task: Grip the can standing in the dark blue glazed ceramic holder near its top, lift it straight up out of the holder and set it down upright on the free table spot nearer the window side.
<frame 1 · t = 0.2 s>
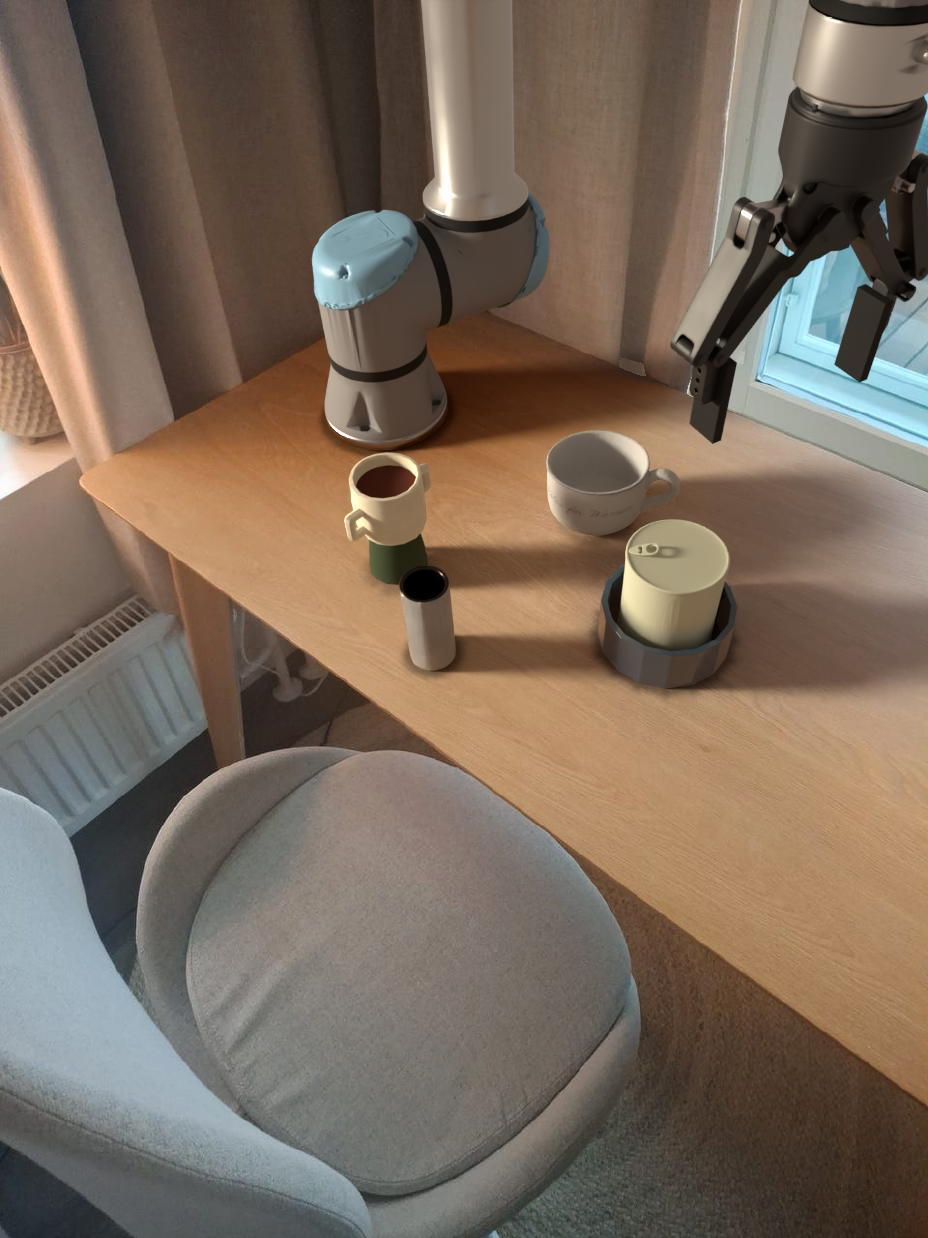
hand: (779, 401, 67), 28 cm above the table, tool pointing down, fingers open, 13 cm apart
can: (662, 637, 89), resting in holder
character mug: (399, 569, 97), on the table
teacup: (607, 519, 100), on the table
planter: (433, 654, 89), on the table
holder: (662, 636, 89), on the table
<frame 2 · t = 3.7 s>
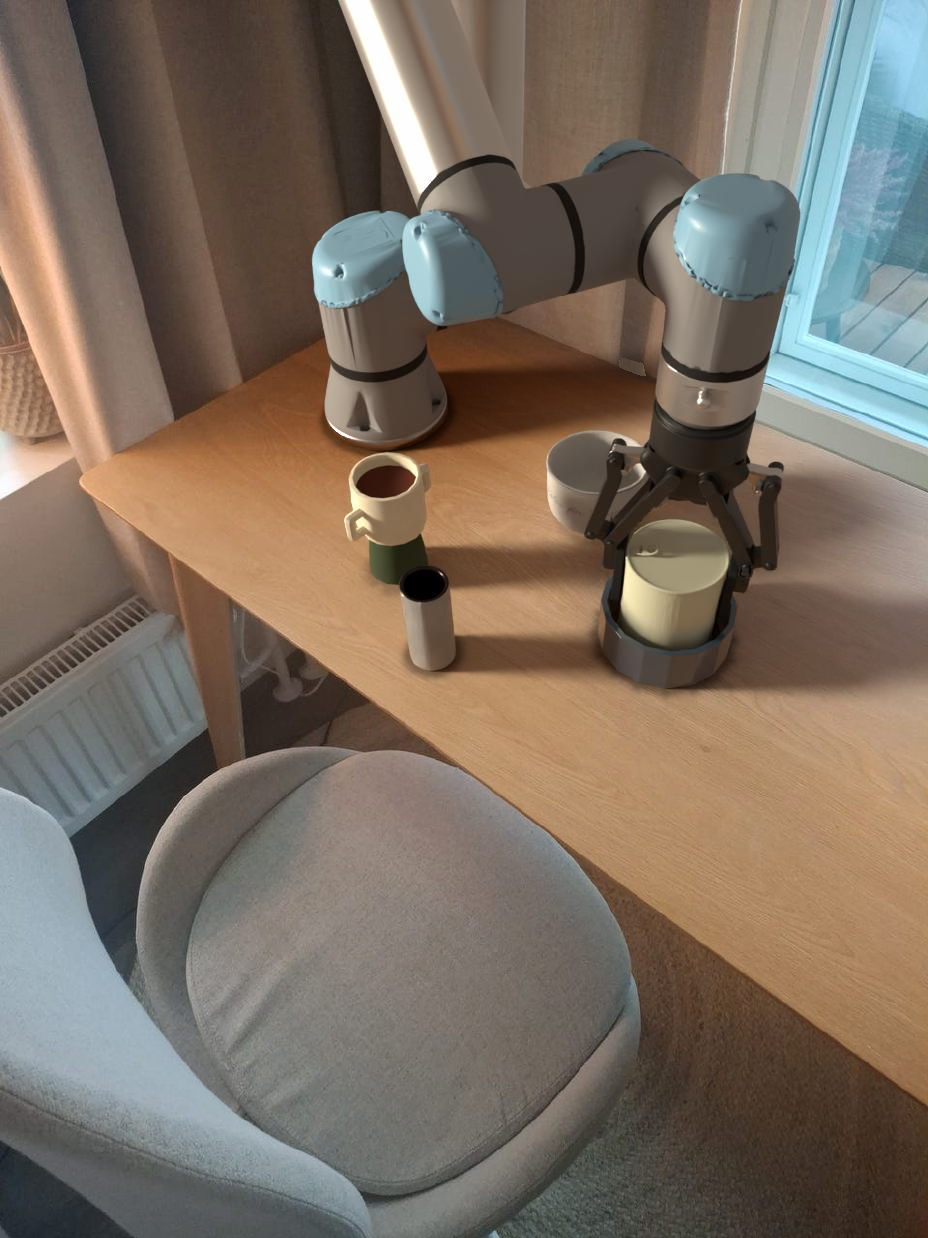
hand: (669, 599, 85), 5 cm above the table, tool pointing down, fingers closed on can, 9 cm apart
can: (662, 637, 89), resting in holder, touching gripper
everything else where it was.
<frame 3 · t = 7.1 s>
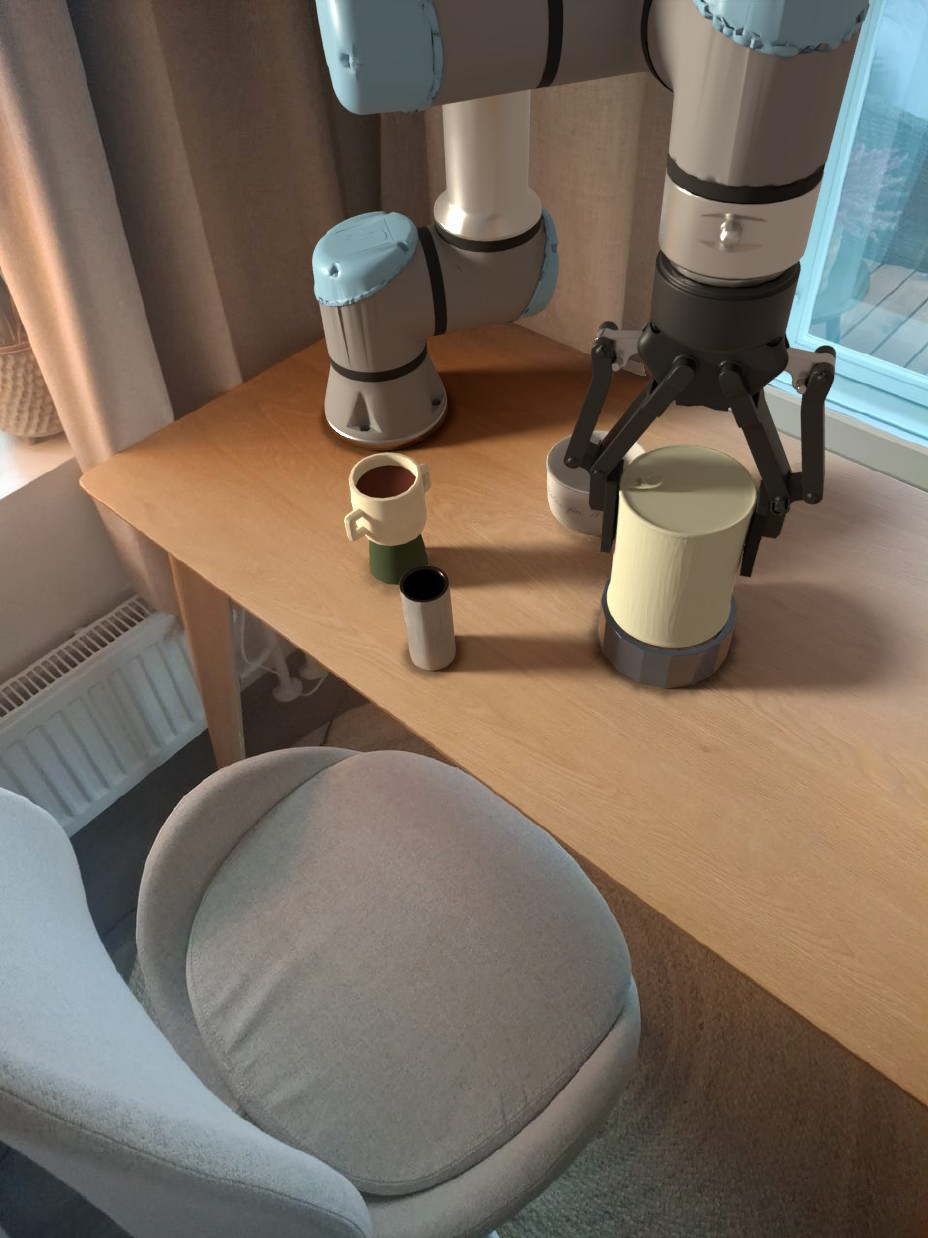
hand: (676, 551, 65), 23 cm above the table, tool pointing down, fingers closed on can, 9 cm apart
can: (667, 602, 69), point 17 cm above the table, touching gripper
everything else where it was.
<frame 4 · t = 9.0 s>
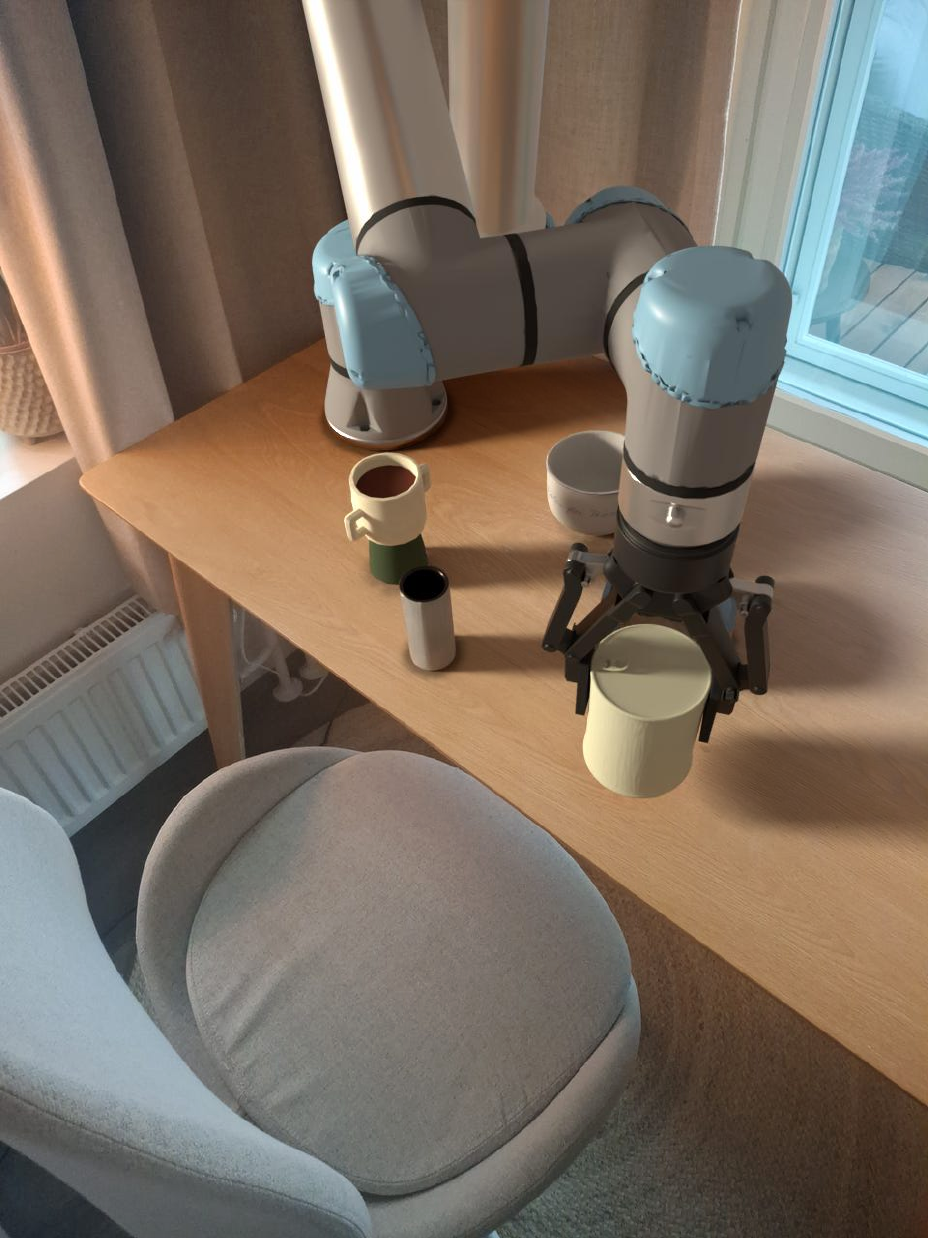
hand: (643, 714, 73), 9 cm above the table, tool pointing down, fingers closed on can, 9 cm apart
can: (636, 752, 77), point 3 cm above the table, touching gripper
everything else where it was.
when the fingers open (5 cm above the table, at t = 10.5 s): can stays where it is, on the table.
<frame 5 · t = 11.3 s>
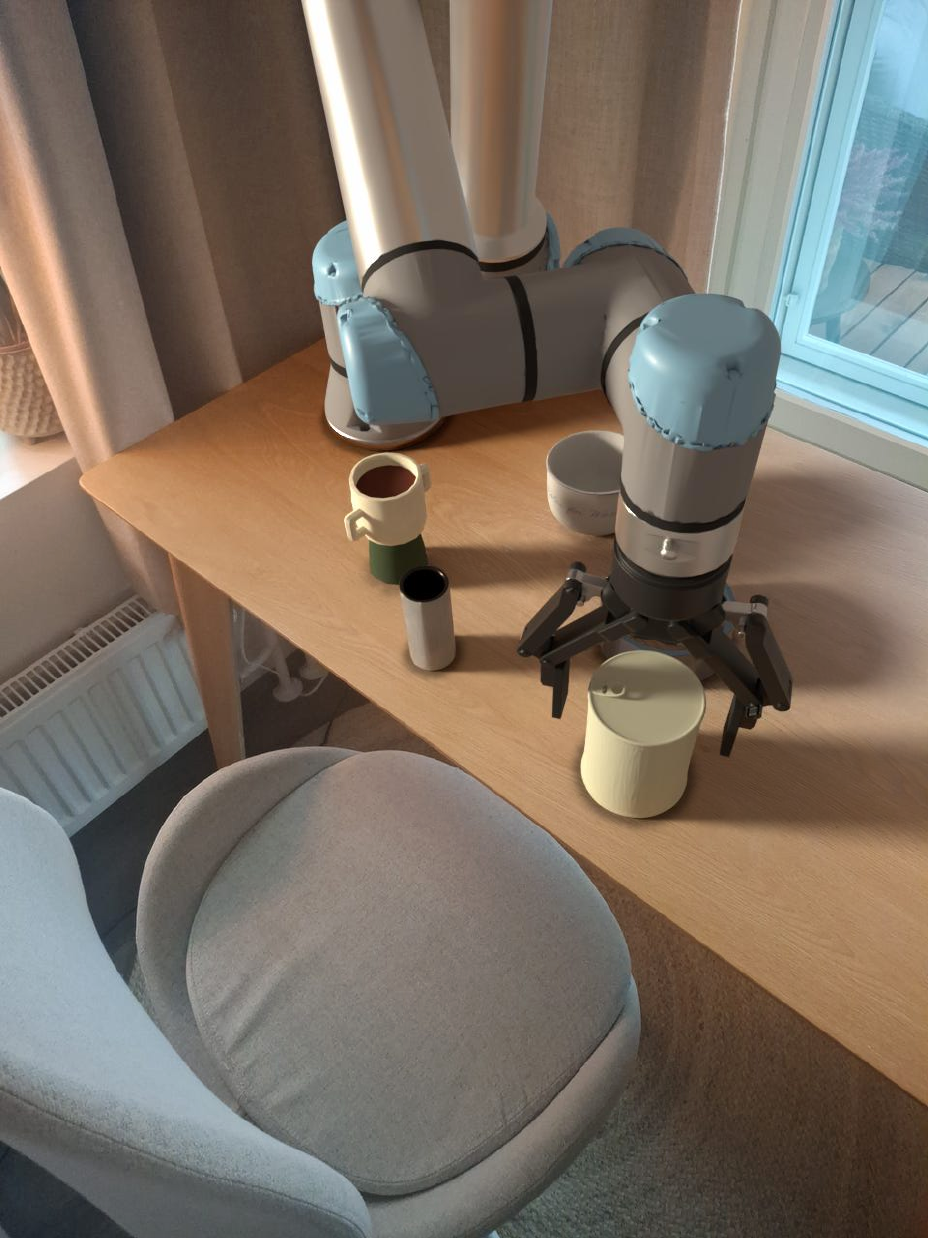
hand: (641, 723, 74), 7 cm above the table, tool pointing down, fingers open, 13 cm apart
can: (633, 772, 80), on the table
everything else where it was.
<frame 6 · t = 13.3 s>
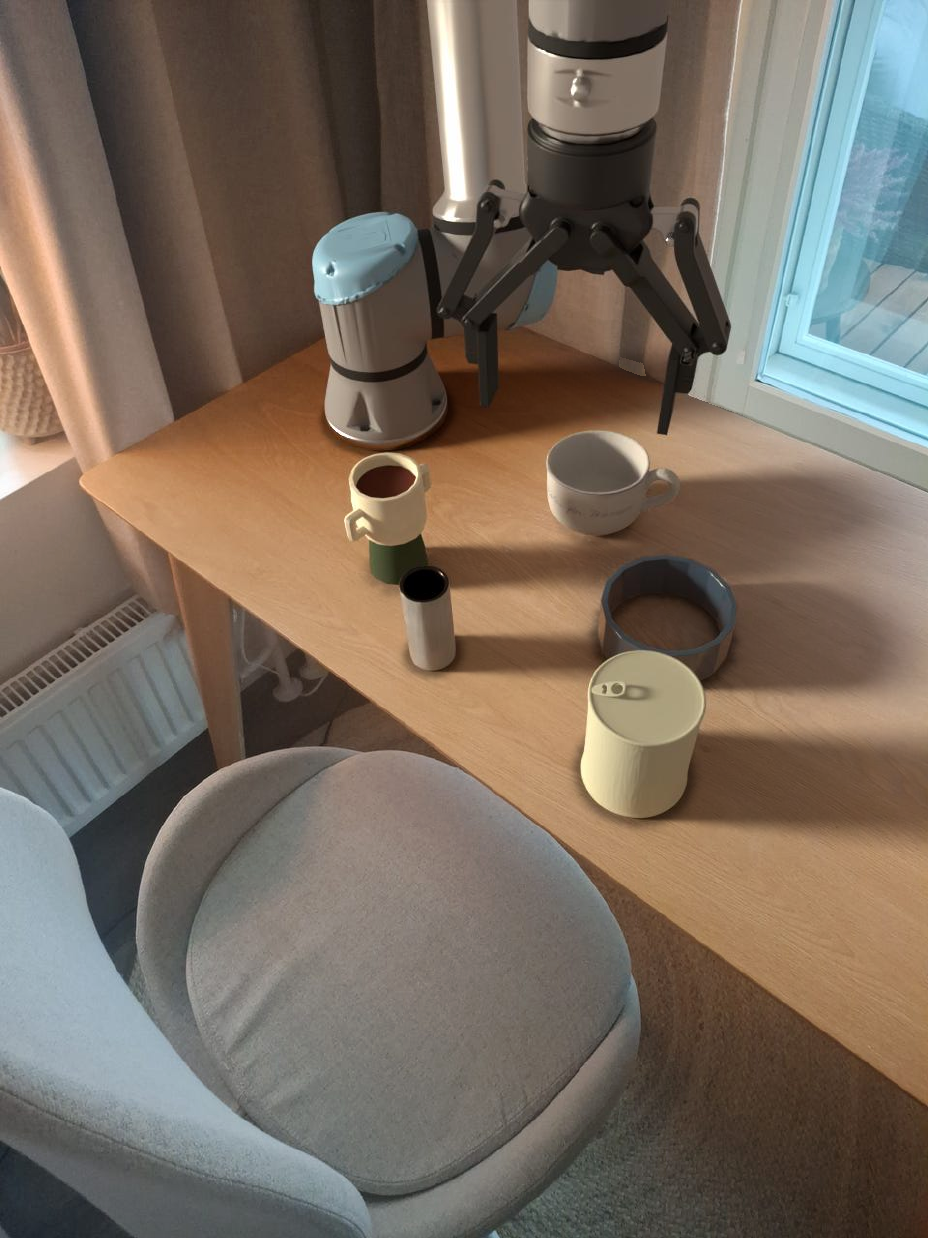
hand: (575, 409, 69), 27 cm above the table, tool pointing down, fingers open, 13 cm apart
nothing on the table moved.
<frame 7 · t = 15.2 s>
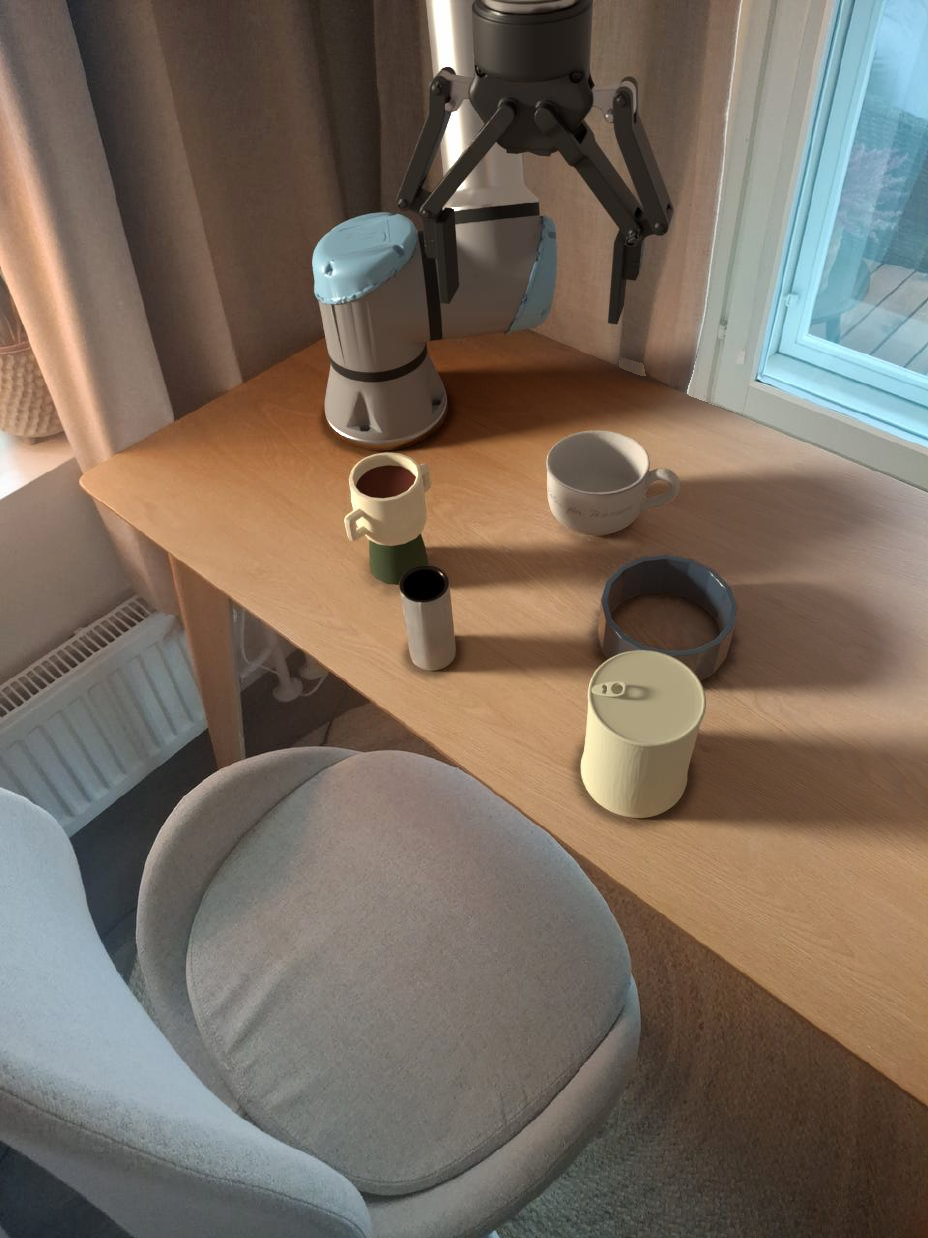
hand: (531, 304, 72), 31 cm above the table, tool pointing down, fingers open, 13 cm apart
nothing on the table moved.
at the end: can inside the target area (0.1 cm from its centre), on the table; can tilted 0°; can touching table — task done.
